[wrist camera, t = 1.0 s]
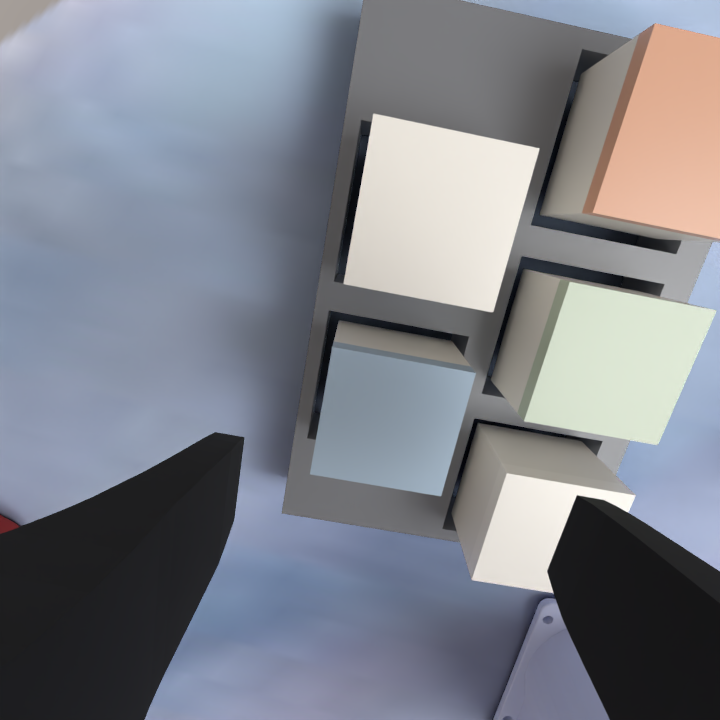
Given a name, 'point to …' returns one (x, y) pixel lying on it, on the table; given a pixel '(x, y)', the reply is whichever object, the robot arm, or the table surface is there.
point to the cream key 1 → (437, 213)
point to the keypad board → (481, 328)
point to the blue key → (391, 409)
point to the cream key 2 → (524, 502)
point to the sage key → (597, 356)
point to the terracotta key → (644, 140)
